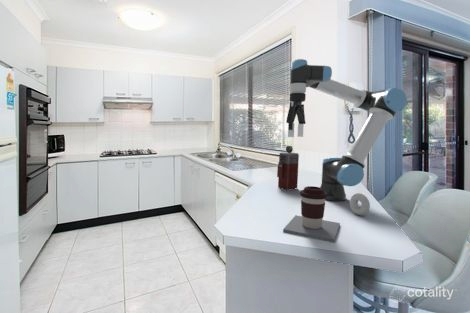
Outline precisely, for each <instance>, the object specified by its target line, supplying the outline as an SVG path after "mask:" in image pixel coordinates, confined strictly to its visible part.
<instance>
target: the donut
mask: <svg viewBox="0 0 470 313" xmlns="http://www.w3.org/2000/svg"><path fill="white" fill-rule="evenodd" d="M359 202H360V204H361V205H360V206H361V207H359V205H358V204H359ZM349 206H350V209H351V211H352V212H353V213H354V214H355V215H357V216H362V217H363V216H365V215H367V214H368V213H369V211H370V208H371V203H370V200H369V199H368V197H367V196H366V195H365V194H362V193H354V194H353V195H352V196H351V197H350V200H349Z"/></svg>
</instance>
